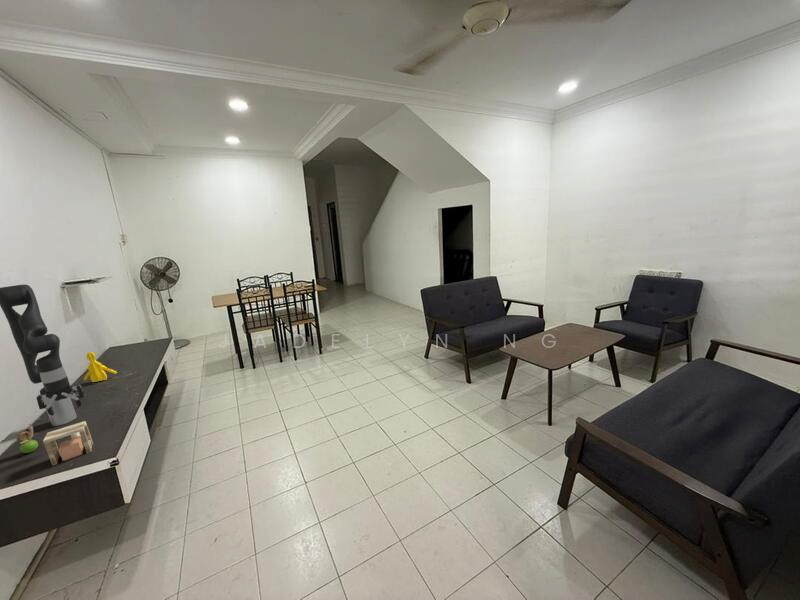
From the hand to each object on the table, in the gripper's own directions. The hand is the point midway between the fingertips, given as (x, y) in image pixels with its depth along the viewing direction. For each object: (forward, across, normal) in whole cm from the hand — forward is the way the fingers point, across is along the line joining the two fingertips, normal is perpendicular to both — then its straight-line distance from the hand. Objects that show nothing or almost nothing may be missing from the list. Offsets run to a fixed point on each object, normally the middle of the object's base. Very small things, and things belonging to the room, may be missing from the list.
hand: (66, 410), depth 143 cm
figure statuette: (+16, -1, -86) cm, 87 cm away
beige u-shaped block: (+17, 0, +11) cm, 20 cm away
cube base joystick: (+17, 0, +6) cm, 18 cm away
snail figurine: (+17, +16, -8) cm, 24 cm away
